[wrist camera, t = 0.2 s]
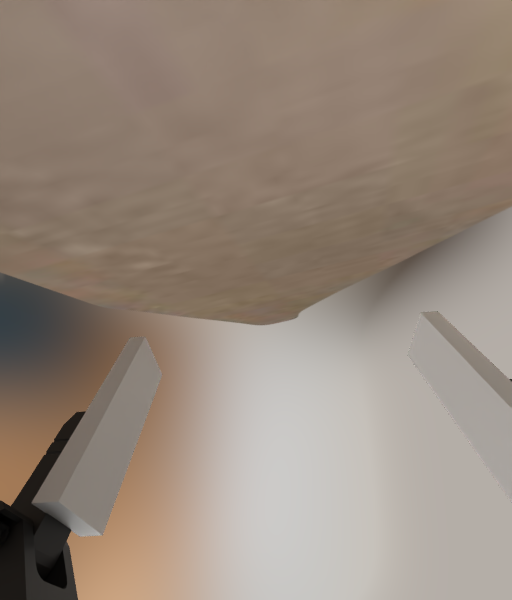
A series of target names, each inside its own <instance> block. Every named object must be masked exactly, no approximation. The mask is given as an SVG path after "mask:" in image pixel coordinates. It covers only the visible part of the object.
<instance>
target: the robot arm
mask: <svg viewBox="0 0 512 600" xmlns="http://www.w3.org/2000/svg"><path fill="white" fill-rule="evenodd" d="M408 357H409V358H410V359H411V361H412V362H413V364H414V365H415V367H416V368H417V369H418V371H419V372H420V373H421V375H422V376H423V378H424V379H425V381H426V382H427V384H428V385H429V386H430V388H431V389H432V391H433V392H434V393H435V395H436V396H437V398H438V399H439V400H440V402H441V403H442V405H443V406H444V408H445V409H446V410H447V412H448V413H449V415H450V416H451V418H452V419H453V420H454V422H455V423H456V425H457V426H458V427H459V429H460V430H461V432H462V433H463V434H464V436H465V437H466V439H467V440H468V442H469V443H470V444H471V446H472V447H473V449H474V450H475V452H476V453H477V454H478V456H479V457H480V459H481V460H482V461H483V463H484V464H485V465H486V467H487V469H488V470H489V471H490V473H491V474H492V476H493V477H494V478H495V480H496V481H497V483H498V484H499V485H500V487H501V488H502V490H503V491H504V493H505V494H506V496H507V497H508V498H509V500H510V501H511V503H512V379H508V378H507V377H506V376H505V375H504V374H503V373H502V372H501V371H500V370H499V369H498V368H497V367H496V366H495V365H494V364H493V363H492V362H490V361H489V360H488V359H487V358H486V357H485V356H484V355H483V354H482V353H481V352H480V351H479V350H478V349H477V348H476V347H475V346H474V345H472V343H471V342H469V341H468V340H467V339H466V338H465V337H464V336H463V335H462V334H461V333H460V332H459V331H458V330H457V329H456V328H455V327H454V326H453V325H452V324H451V323H449V322H448V321H447V320H446V319H445V318H444V317H443V316H442V315H441V314H440V313H439V312H438V311H435V312H423V313H421V314H420V317H419V320H418V323H417V326H416V329H415V332H414V336H413V339H412V342H411V345H410V348H409V351H408ZM161 377H162V373H161V371H160V368H159V366H158V364H157V362H156V360H155V357H154V355H153V353H152V350H151V348H150V346H149V344H148V342H147V339H146V337H134V338H130V339H129V340H128V342H127V344H126V345H125V347H124V349H123V350H122V352H121V354H120V356H119V357H118V359H117V361H116V362H115V364H114V366H113V367H112V369H111V370H110V372H109V374H108V375H107V377H106V379H105V380H104V382H103V384H102V386H101V387H100V389H99V391H98V392H97V394H96V395H95V397H94V399H93V400H92V402H91V404H90V406H89V407H88V409H87V411H86V412H77V413H75V415H73V416H72V417H71V418H70V419H69V420H68V421H67V422H66V423H65V424H64V425H63V427H62V428H61V430H60V431H59V433H58V435H57V436H56V438H55V439H54V442H53V443H52V444H51V445H50V447H49V448H48V450H47V453H46V455H44V456H43V458H42V459H41V461H40V462H39V464H38V465H37V467H36V469H35V470H34V472H33V473H32V475H31V477H30V478H29V480H28V481H27V482H26V484H25V486H24V487H23V489H22V490H21V492H20V493H19V495H18V496H17V498H16V500H15V501H14V503H13V504H12V505H11V506H9V505H7V504H5V503H4V502H2V501H0V600H78V598H77V591H76V585H75V579H74V573H73V567H72V561H71V555H70V548H69V546H68V543H67V539H68V536H69V534H70V532H71V531H73V532H74V533H76V534H77V535H79V536H98V535H103V533H104V530H105V527H106V525H107V522H108V519H109V516H110V514H111V511H112V508H113V506H114V503H115V500H116V498H117V495H118V492H119V490H120V487H121V484H122V481H123V479H124V476H125V473H126V471H127V468H128V465H129V463H130V460H131V457H132V455H133V452H134V449H135V446H136V444H137V441H138V438H139V436H140V433H141V430H142V428H143V425H144V422H145V420H146V417H147V414H148V411H149V409H150V406H151V403H152V401H153V398H154V395H155V393H156V390H157V387H158V385H159V382H160V379H161Z"/></svg>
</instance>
